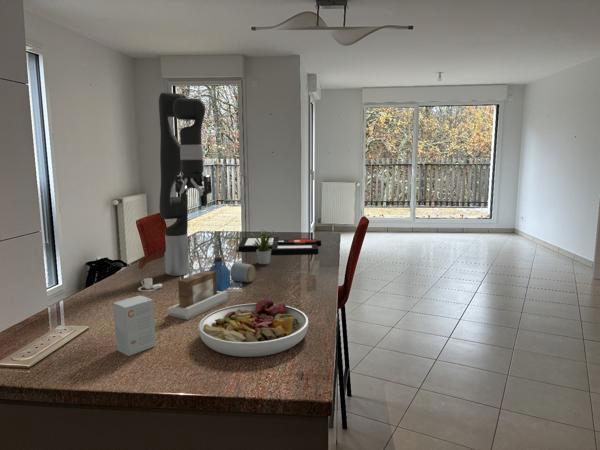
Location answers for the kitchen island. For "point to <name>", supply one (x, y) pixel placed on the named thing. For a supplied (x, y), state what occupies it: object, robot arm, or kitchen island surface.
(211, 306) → the frame
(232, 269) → the ceramic mug
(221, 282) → the perfume bottle
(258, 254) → the house plant
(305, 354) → the kitchen island surface
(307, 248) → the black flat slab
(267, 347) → the bowl
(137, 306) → the small box
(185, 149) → the robot arm
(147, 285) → the teacup and saucer
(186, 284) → the oak frame
